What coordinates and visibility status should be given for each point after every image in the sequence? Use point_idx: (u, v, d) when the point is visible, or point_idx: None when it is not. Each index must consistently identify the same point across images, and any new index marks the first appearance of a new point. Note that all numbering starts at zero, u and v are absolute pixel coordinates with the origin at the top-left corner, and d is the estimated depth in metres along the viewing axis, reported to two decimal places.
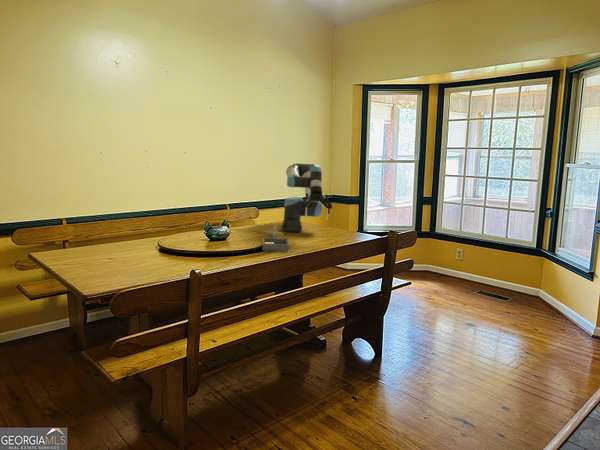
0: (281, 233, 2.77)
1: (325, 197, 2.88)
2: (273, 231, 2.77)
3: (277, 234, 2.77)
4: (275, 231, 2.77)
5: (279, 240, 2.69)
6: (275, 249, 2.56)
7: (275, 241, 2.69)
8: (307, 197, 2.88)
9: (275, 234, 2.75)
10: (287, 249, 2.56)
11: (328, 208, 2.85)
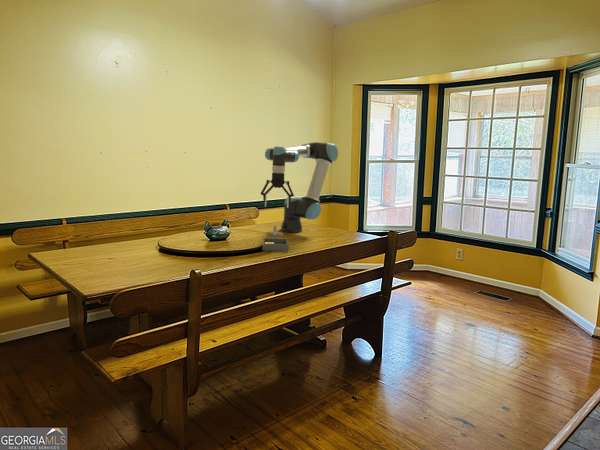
0: (281, 233, 2.77)
1: (287, 184, 2.71)
2: (273, 231, 2.77)
3: (277, 234, 2.77)
4: (275, 231, 2.77)
5: (279, 240, 2.69)
6: (275, 249, 2.56)
7: (275, 241, 2.69)
8: None
9: (275, 234, 2.75)
10: (287, 249, 2.56)
11: (289, 197, 2.73)
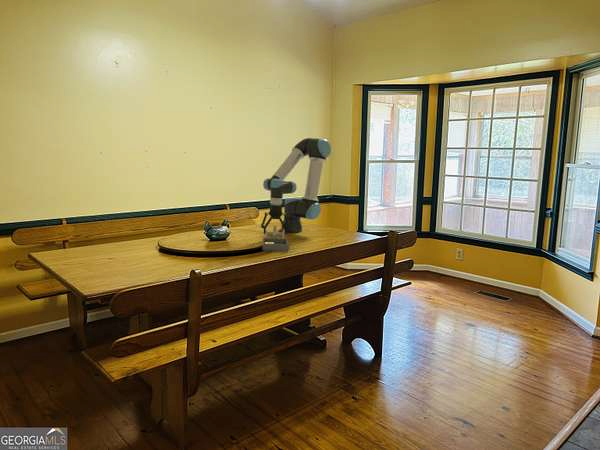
0: (281, 233, 2.77)
1: (284, 216, 2.75)
2: (273, 231, 2.77)
3: (277, 234, 2.77)
4: (275, 231, 2.77)
5: (279, 240, 2.69)
6: (275, 249, 2.56)
7: (275, 241, 2.69)
8: (266, 215, 2.75)
9: (275, 234, 2.75)
10: (287, 249, 2.56)
11: (285, 229, 2.77)
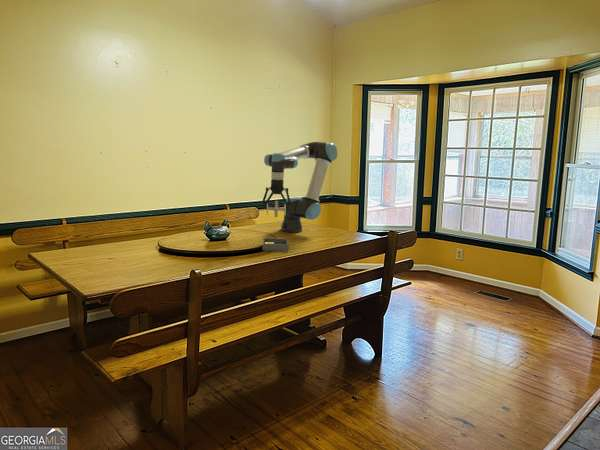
0: (283, 208, 2.74)
1: (286, 191, 2.72)
2: None
3: (279, 209, 2.74)
4: (276, 206, 2.74)
5: (279, 240, 2.69)
6: (275, 249, 2.56)
7: (275, 241, 2.69)
8: (267, 190, 2.72)
9: (277, 209, 2.72)
10: (287, 249, 2.56)
11: None
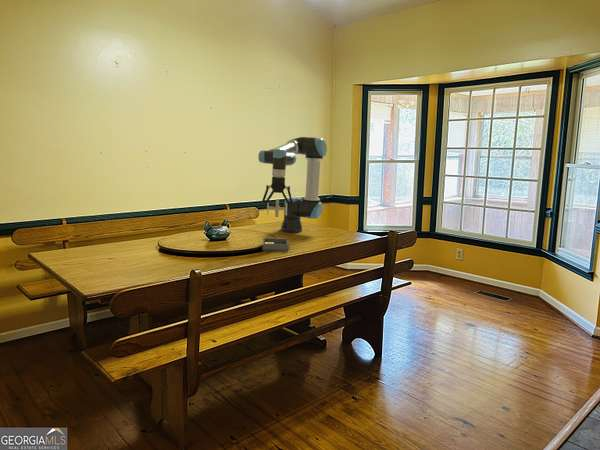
0: (284, 208, 2.57)
1: None
2: None
3: (280, 209, 2.58)
4: (277, 206, 2.57)
5: (279, 240, 2.69)
6: (275, 249, 2.56)
7: (275, 241, 2.69)
8: None
9: (277, 209, 2.55)
10: (287, 249, 2.56)
11: None
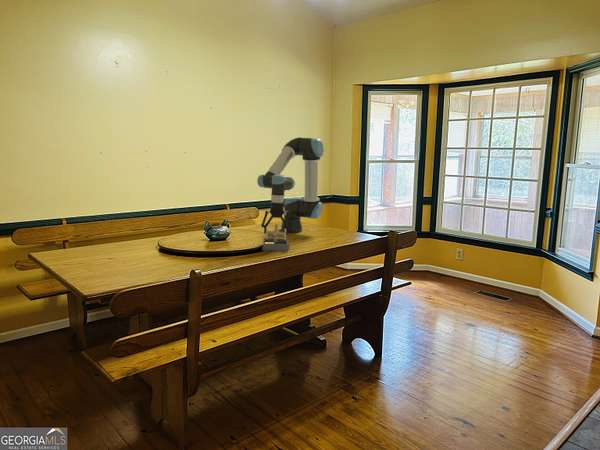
0: (283, 233, 2.60)
1: (286, 215, 2.59)
2: None
3: (278, 234, 2.61)
4: (276, 230, 2.60)
5: (279, 240, 2.69)
6: (275, 249, 2.56)
7: None
8: None
9: (276, 234, 2.58)
10: (287, 249, 2.56)
11: (286, 229, 2.61)
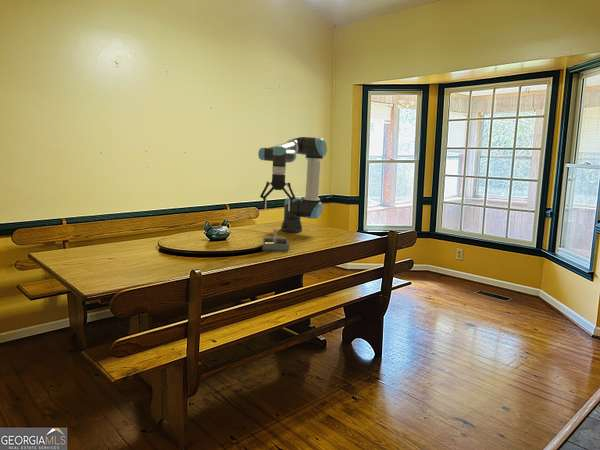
0: (282, 237, 2.61)
1: (288, 186, 2.56)
2: None
3: (278, 238, 2.62)
4: (275, 235, 2.61)
5: (279, 240, 2.69)
6: (275, 249, 2.56)
7: None
8: (268, 185, 2.56)
9: (276, 238, 2.59)
10: (287, 249, 2.56)
11: (290, 199, 2.58)
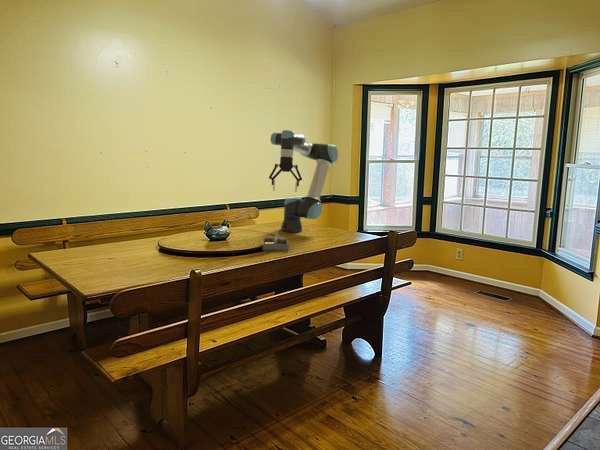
0: (283, 238, 2.61)
1: (295, 168, 2.71)
2: None
3: (278, 239, 2.61)
4: (276, 236, 2.61)
5: (279, 240, 2.69)
6: (275, 249, 2.56)
7: None
8: None
9: (277, 239, 2.59)
10: (287, 249, 2.56)
11: (297, 181, 2.73)
